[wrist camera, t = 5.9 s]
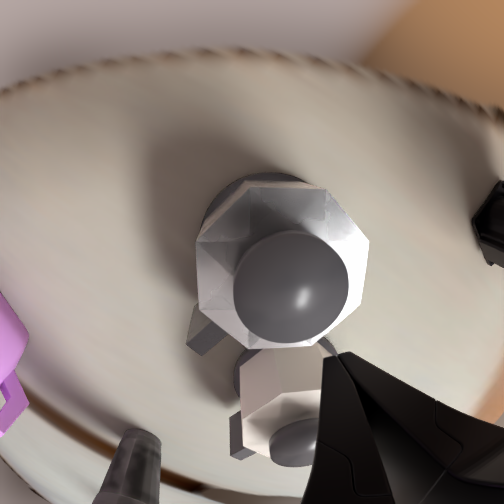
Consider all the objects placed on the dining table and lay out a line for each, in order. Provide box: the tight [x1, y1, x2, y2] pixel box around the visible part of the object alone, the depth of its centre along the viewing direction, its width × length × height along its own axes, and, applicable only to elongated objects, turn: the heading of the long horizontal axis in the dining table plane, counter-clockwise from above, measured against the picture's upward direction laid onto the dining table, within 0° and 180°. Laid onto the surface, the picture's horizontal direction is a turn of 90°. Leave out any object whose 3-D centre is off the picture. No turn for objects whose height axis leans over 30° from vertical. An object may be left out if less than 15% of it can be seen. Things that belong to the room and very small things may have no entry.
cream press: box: [229, 337, 338, 460], centre depth 21 cm, size 12×9×6 cm
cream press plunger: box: [269, 418, 318, 467], centre depth 19 cm, size 5×5×6 cm
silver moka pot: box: [186, 172, 369, 356], centre depth 17 cm, size 12×9×6 cm
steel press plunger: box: [233, 230, 349, 343], centre depth 15 cm, size 5×5×6 cm
